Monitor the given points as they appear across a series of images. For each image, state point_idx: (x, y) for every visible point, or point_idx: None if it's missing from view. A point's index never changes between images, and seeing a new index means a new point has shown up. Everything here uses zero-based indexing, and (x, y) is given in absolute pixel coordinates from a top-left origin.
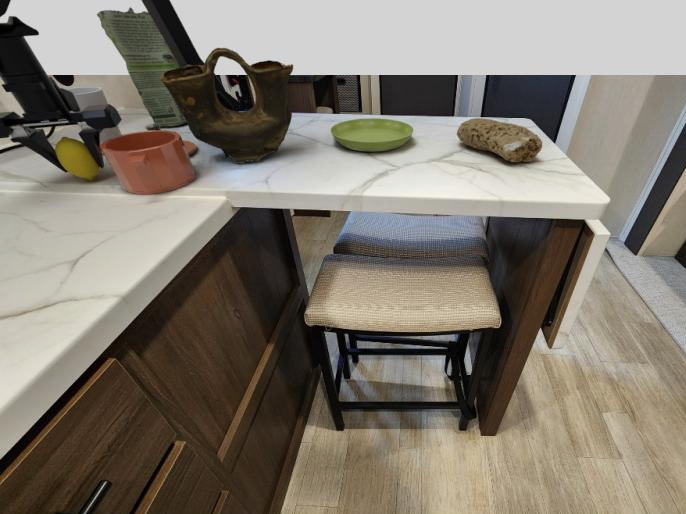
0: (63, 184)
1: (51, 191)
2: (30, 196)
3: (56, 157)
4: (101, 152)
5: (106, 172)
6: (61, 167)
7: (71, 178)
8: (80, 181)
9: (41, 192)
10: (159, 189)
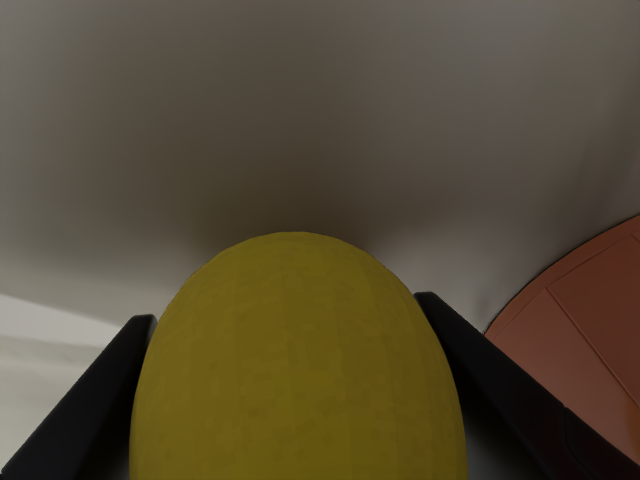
0: (99, 283)
1: (91, 360)
2: (5, 394)
3: (125, 474)
4: (521, 377)
5: (359, 120)
6: None
7: (86, 182)
8: (204, 259)
9: (31, 363)
10: None
